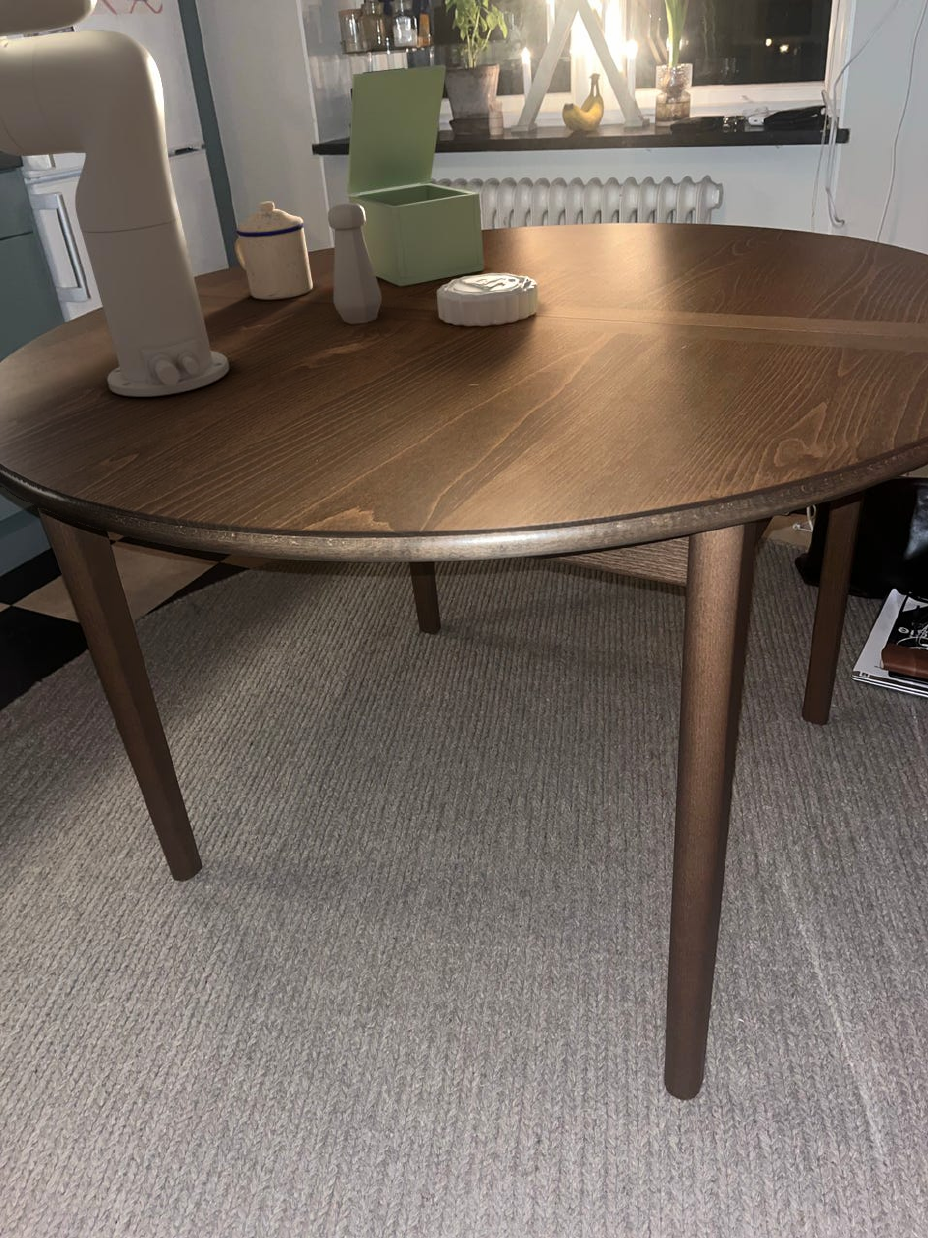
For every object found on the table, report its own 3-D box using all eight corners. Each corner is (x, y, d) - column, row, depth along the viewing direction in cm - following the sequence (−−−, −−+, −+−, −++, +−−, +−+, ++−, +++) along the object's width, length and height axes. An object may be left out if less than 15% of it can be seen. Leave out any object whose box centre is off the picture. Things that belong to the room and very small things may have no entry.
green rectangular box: (484, 269, 132) (479, 193, 127) (400, 286, 128) (391, 207, 123) (436, 253, 145) (429, 182, 140) (358, 268, 140) (348, 195, 135)
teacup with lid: (328, 286, 132) (314, 196, 125) (283, 302, 126) (266, 209, 119) (267, 281, 138) (251, 195, 132) (221, 296, 132) (202, 207, 126)
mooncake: (557, 312, 110) (557, 280, 108) (469, 333, 106) (467, 300, 104) (504, 294, 119) (502, 265, 118) (421, 313, 115) (417, 283, 113)
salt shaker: (329, 325, 114) (311, 210, 107) (347, 312, 118) (331, 201, 111) (374, 325, 112) (358, 208, 105) (390, 312, 117) (377, 199, 110)
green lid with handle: (446, 67, 125) (428, 42, 127) (355, 77, 120) (338, 52, 123) (430, 181, 139) (414, 157, 142) (348, 194, 135) (334, 169, 137)
